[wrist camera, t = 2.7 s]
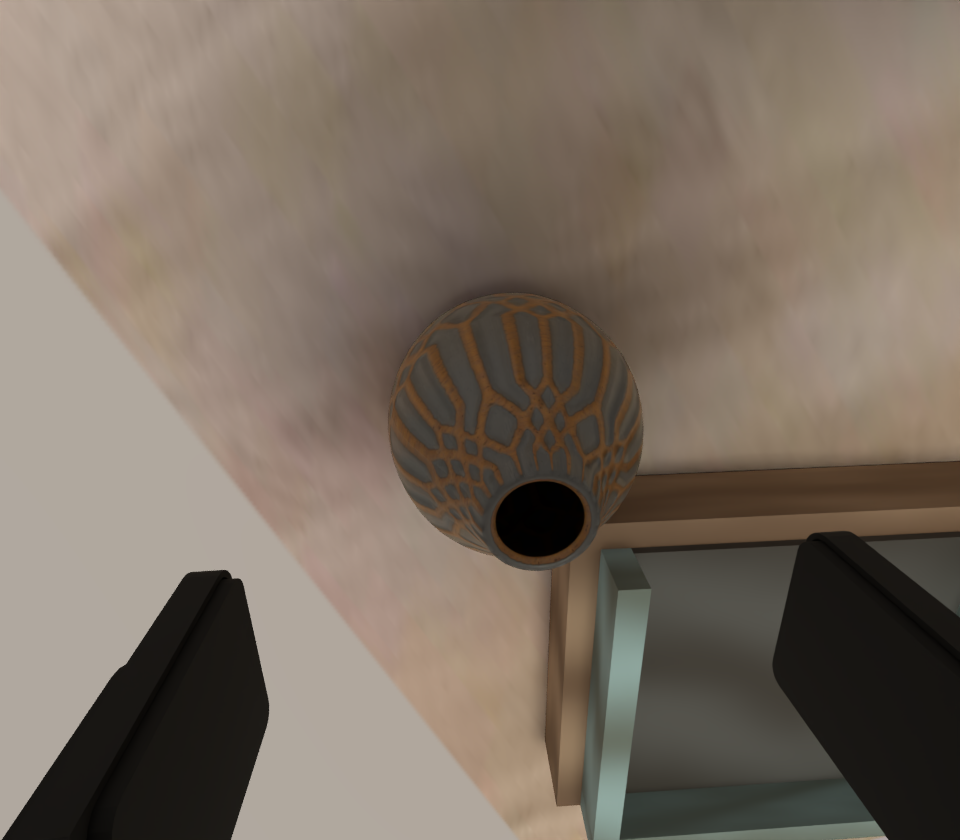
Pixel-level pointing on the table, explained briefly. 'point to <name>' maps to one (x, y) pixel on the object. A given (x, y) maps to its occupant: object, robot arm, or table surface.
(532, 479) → the vase
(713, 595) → the dock
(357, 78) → the table surface
